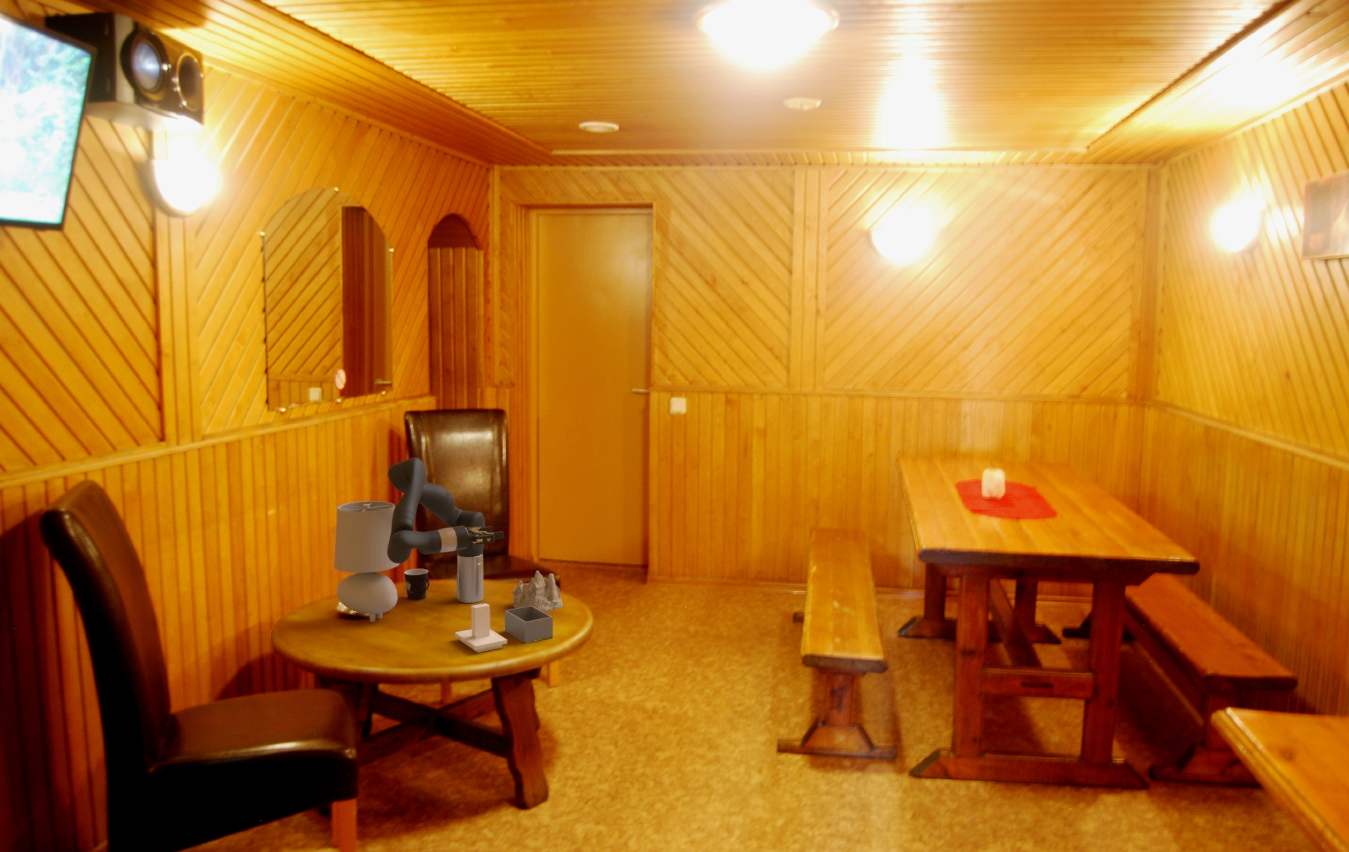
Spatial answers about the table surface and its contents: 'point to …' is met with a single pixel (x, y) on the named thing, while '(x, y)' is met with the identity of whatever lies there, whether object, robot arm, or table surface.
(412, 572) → the coffee mug
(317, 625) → the table surface
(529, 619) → the tub
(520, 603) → the beige rock formation
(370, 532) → the table lamp
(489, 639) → the slab with upright post
